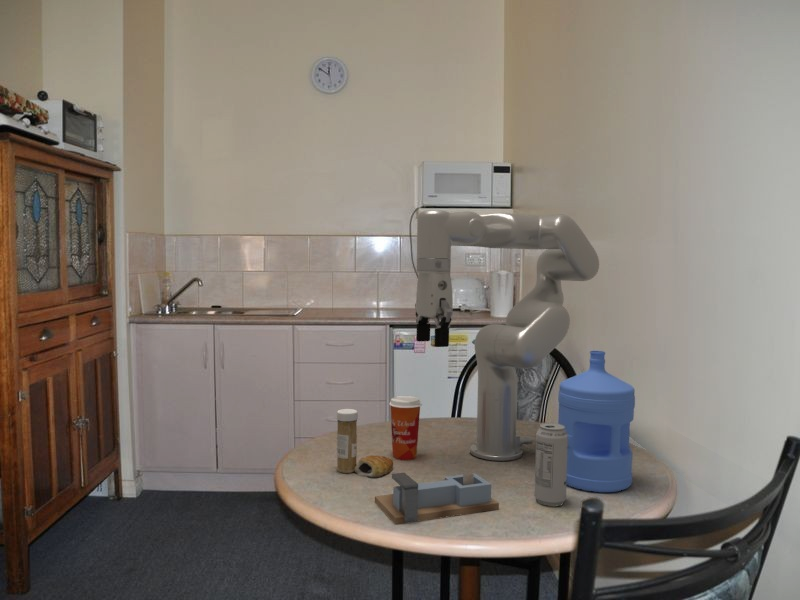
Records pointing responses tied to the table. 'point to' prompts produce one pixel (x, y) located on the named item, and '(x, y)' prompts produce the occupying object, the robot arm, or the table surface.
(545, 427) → the energy drink can
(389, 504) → the board
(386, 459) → the pastry
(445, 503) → the link
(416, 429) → the paper cup
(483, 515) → the table surface
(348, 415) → the sprinkles bottle
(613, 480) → the water jug
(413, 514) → the keeper
